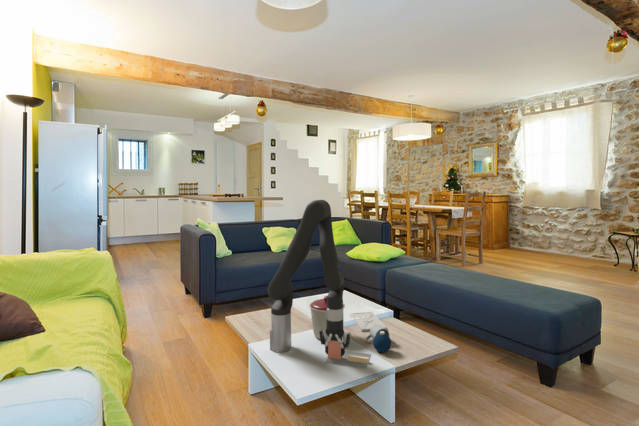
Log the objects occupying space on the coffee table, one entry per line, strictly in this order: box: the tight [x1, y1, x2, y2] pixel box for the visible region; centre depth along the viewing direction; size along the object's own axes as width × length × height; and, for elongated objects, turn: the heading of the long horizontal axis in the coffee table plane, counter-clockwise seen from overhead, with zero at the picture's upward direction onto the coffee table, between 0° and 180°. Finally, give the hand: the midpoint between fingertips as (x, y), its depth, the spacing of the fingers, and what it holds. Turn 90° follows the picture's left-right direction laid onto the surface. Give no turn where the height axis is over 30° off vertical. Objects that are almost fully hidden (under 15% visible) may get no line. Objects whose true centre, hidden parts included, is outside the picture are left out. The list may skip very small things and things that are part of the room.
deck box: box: [327, 340, 342, 359], centre depth 162 cm, size 6×2×8 cm, turn 73°
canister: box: [308, 295, 346, 341], centre depth 186 cm, size 18×18×21 cm
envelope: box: [349, 311, 388, 333], centre depth 206 cm, size 24×2×14 cm
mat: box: [324, 350, 373, 370], centre depth 162 cm, size 18×14×2 cm
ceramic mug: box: [365, 325, 390, 344], centre depth 180 cm, size 11×8×8 cm
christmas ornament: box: [372, 331, 392, 353], centre depth 169 cm, size 8×8×10 cm
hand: (334, 354), depth 162 cm, fingers closed on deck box, 6 cm apart
